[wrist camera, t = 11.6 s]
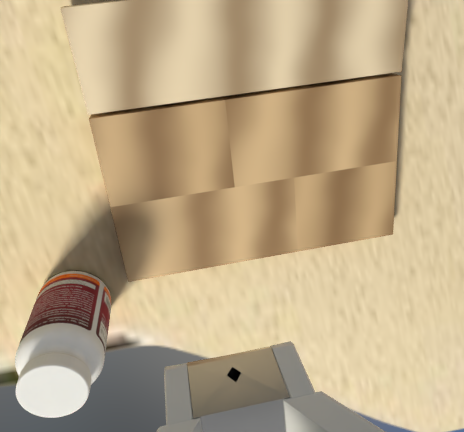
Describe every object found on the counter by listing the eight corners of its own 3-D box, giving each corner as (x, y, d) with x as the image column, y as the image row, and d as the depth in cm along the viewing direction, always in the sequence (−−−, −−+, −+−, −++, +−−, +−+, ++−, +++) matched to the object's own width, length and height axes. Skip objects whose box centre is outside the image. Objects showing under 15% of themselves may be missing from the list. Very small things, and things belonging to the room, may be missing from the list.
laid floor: (391, 73, 36) (401, 75, 35) (384, 226, 42) (392, 234, 40) (91, 114, 33) (88, 119, 32) (129, 272, 39) (128, 281, 38)
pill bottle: (23, 298, 39) (-21, 394, 29) (75, 254, 38) (48, 338, 28) (77, 338, 41) (54, 439, 31) (126, 298, 40) (119, 389, 30)
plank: (399, -31, 32) (411, -32, 31) (391, 67, 36) (401, 71, 34) (64, 6, 30) (60, 7, 28) (90, 108, 33) (87, 114, 32)
